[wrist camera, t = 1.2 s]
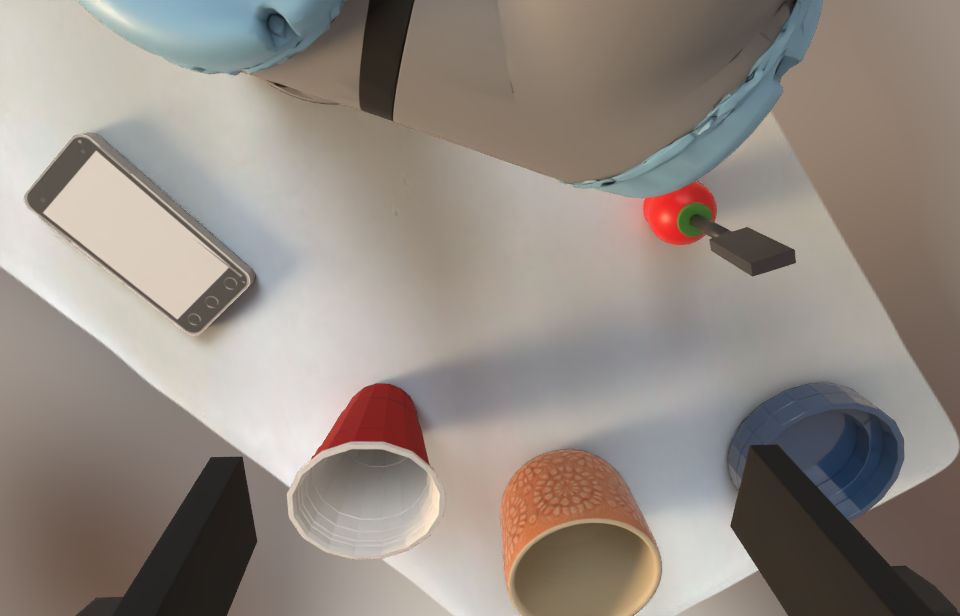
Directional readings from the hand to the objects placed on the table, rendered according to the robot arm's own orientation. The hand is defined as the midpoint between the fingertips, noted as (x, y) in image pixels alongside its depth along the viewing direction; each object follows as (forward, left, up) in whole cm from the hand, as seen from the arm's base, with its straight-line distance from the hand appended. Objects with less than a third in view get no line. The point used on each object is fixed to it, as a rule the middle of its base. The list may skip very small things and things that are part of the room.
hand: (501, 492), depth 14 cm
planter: (+27, +1, -31) cm, 41 cm away
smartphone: (-6, -23, -31) cm, 39 cm away
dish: (+31, +24, -31) cm, 50 cm away
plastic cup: (+14, -12, -31) cm, 36 cm away
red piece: (+4, +16, -31) cm, 35 cm away
